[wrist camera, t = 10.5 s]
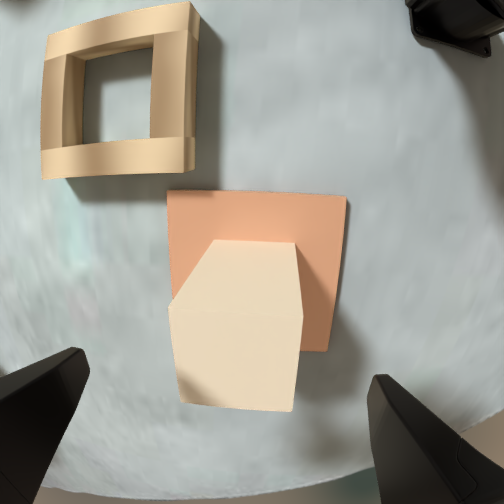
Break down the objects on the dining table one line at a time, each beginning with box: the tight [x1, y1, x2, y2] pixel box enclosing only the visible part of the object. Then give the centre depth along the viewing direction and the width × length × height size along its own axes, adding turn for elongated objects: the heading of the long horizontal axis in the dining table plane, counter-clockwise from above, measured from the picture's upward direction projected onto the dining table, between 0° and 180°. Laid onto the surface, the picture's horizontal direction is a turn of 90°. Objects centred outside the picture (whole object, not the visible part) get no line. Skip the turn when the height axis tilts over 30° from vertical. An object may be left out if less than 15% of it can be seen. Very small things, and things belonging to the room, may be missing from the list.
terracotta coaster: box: [167, 190, 347, 352], centre depth 21 cm, size 11×11×1 cm
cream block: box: [168, 240, 303, 412], centre depth 17 cm, size 5×5×9 cm
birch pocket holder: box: [41, 1, 200, 180], centre depth 17 cm, size 10×10×2 cm
